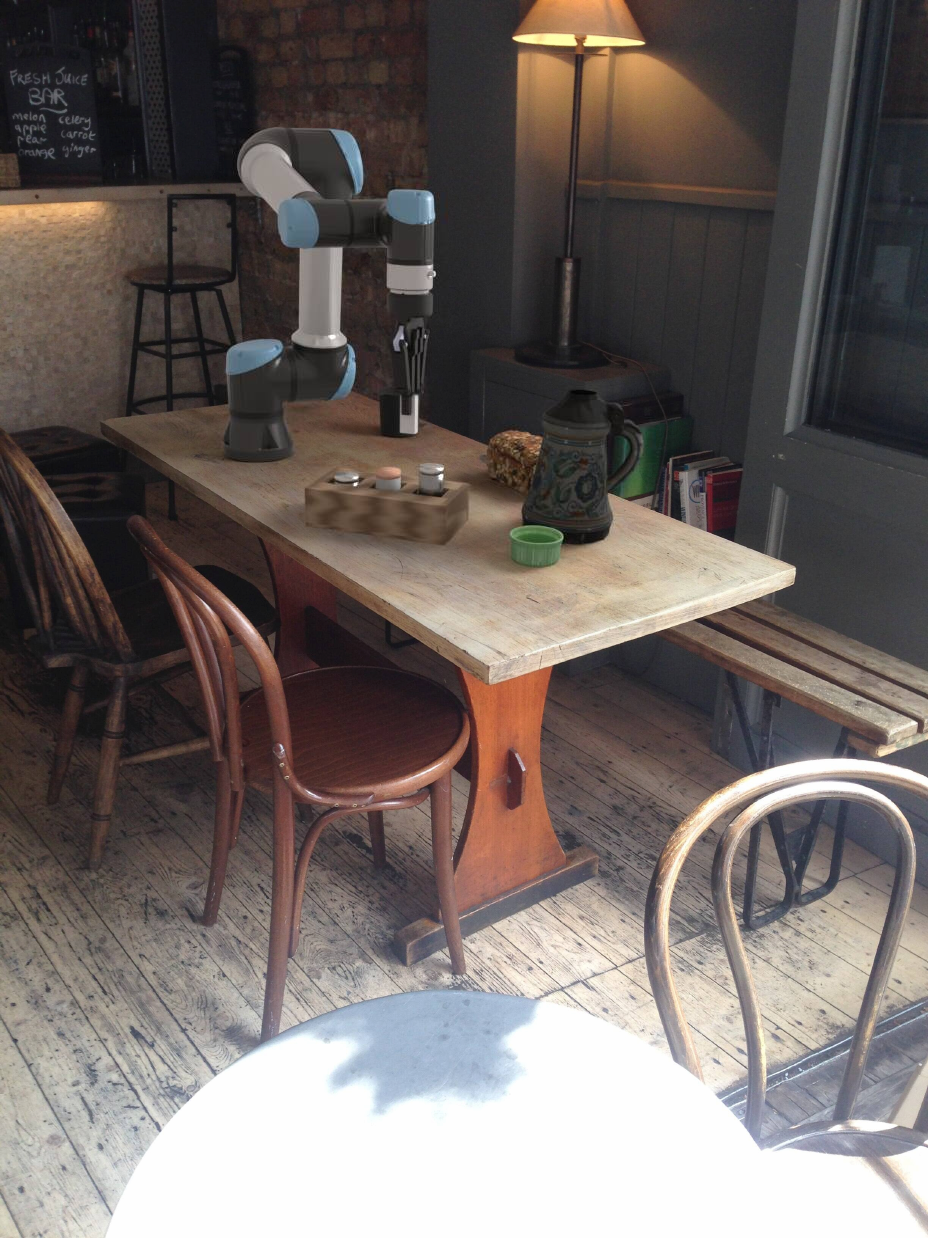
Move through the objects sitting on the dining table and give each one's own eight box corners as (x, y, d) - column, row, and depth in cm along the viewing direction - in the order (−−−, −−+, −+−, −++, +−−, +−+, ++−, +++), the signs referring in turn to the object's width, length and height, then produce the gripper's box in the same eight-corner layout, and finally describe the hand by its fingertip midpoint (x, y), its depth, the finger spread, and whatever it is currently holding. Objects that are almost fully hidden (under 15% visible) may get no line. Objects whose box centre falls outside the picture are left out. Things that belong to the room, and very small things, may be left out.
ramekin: (529, 545, 190) (530, 521, 188) (572, 558, 184) (574, 534, 183) (497, 558, 183) (498, 534, 181) (540, 572, 178) (542, 547, 176)
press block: (305, 525, 194) (304, 487, 192) (336, 502, 207) (336, 466, 204) (444, 545, 188) (445, 506, 185) (468, 520, 200) (469, 483, 197)
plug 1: (330, 511, 197) (330, 476, 195) (340, 504, 201) (340, 470, 199) (353, 514, 196) (353, 479, 194) (362, 507, 200) (362, 473, 197)
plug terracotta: (372, 507, 195) (372, 472, 192) (381, 500, 198) (381, 465, 196) (395, 510, 193) (395, 475, 191) (403, 503, 197) (404, 468, 195)
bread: (484, 478, 225) (486, 430, 221) (525, 471, 231) (527, 424, 227) (540, 503, 211) (544, 452, 207) (582, 495, 217) (586, 445, 213)
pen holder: (426, 431, 257) (427, 389, 253) (407, 440, 249) (408, 396, 245) (391, 426, 261) (391, 384, 256) (371, 434, 253) (371, 391, 249)
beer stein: (506, 519, 202) (513, 383, 191) (600, 510, 208) (612, 378, 198) (543, 549, 188) (553, 405, 177) (643, 539, 194) (658, 399, 184)
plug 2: (414, 504, 192) (415, 468, 189) (422, 496, 196) (423, 461, 193) (438, 507, 191) (439, 471, 188) (446, 500, 195) (447, 464, 192)
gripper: (417, 296, 173) (415, 443, 182) (444, 287, 184) (441, 426, 193) (373, 293, 175) (374, 438, 184) (403, 284, 186) (402, 422, 195)
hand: (408, 432), depth 189 cm, fingers closed
